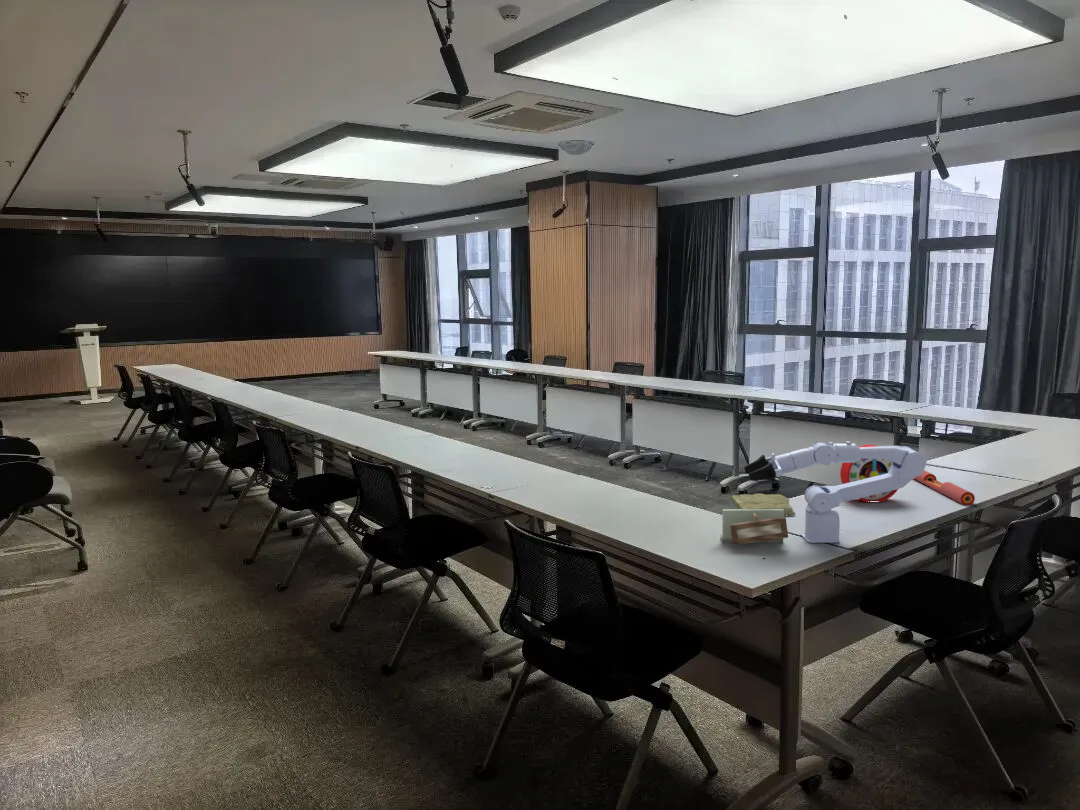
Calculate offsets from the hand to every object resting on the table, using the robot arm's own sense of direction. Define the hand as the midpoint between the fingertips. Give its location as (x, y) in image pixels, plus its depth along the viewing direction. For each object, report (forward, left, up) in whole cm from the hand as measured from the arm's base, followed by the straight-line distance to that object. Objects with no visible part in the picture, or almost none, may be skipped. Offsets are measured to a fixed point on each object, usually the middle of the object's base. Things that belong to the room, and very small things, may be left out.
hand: (747, 473), depth 224 cm
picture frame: (-2, +9, -18) cm, 20 cm away
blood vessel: (-83, -57, -21) cm, 103 cm away
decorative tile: (-13, -33, -21) cm, 41 cm away
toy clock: (-53, -42, -21) cm, 71 cm away
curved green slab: (-1, +3, -20) cm, 21 cm away
